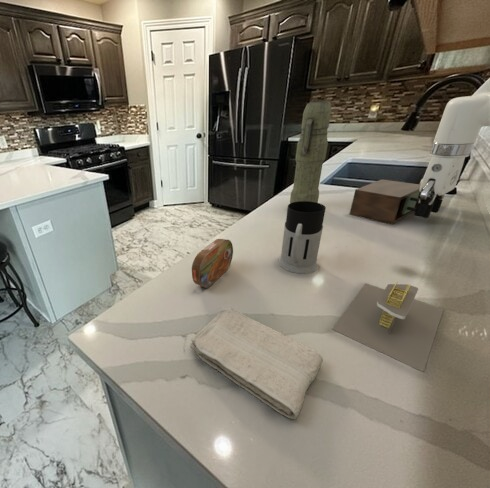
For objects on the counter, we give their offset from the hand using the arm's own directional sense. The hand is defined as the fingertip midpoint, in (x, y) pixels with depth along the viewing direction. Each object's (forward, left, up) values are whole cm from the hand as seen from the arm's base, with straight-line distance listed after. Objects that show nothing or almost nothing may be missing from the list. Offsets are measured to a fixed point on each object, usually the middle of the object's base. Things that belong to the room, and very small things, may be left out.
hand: (425, 213), depth 77 cm
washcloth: (-6, +77, -3) cm, 77 cm away
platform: (-14, +51, -3) cm, 53 cm away
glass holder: (+6, +50, -3) cm, 50 cm away
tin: (+16, +67, -3) cm, 69 cm away
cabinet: (+10, +1, -2) cm, 11 cm away
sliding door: (+2, -2, -1) cm, 3 cm away
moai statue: (+29, +15, -3) cm, 33 cm away
